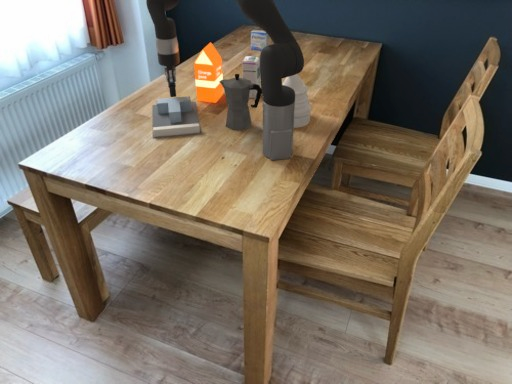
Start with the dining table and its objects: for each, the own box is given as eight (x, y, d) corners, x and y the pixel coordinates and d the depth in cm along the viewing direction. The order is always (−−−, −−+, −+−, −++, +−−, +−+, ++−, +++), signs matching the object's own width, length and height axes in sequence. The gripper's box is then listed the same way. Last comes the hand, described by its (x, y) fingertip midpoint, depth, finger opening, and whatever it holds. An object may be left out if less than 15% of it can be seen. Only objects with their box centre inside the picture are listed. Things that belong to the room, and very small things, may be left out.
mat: (201, 134, 145) (201, 133, 145) (152, 139, 142) (152, 138, 142) (195, 102, 166) (195, 101, 165) (152, 105, 163) (152, 105, 163)
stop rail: (199, 132, 146) (199, 125, 144) (154, 136, 143) (153, 130, 142) (199, 129, 147) (198, 123, 146) (154, 134, 145) (153, 127, 143)
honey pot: (279, 130, 147) (281, 78, 137) (268, 113, 157) (269, 64, 147) (315, 125, 150) (319, 74, 140) (302, 109, 160) (305, 61, 150)
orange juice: (223, 94, 171) (221, 42, 160) (216, 103, 165) (212, 50, 153) (205, 92, 173) (201, 41, 161) (196, 101, 166) (192, 48, 155)
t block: (158, 109, 160) (156, 99, 158) (190, 106, 162) (189, 96, 160) (158, 124, 151) (156, 113, 148) (193, 120, 152) (192, 110, 150)
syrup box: (257, 98, 168) (257, 61, 159) (242, 97, 169) (241, 60, 160) (260, 92, 172) (260, 56, 164) (245, 91, 173) (245, 55, 165)
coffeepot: (215, 126, 149) (211, 75, 139) (227, 115, 156) (225, 66, 146) (256, 135, 144) (256, 83, 134) (267, 123, 151) (268, 73, 140)
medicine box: (250, 49, 215) (250, 31, 210) (253, 47, 218) (253, 29, 213) (266, 51, 213) (266, 33, 208) (268, 48, 216) (268, 30, 211)
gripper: (179, 55, 149) (184, 102, 159) (177, 43, 159) (182, 88, 170) (157, 57, 148) (163, 104, 158) (156, 44, 158) (162, 89, 169)
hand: (173, 96), depth 164 cm, fingers closed
